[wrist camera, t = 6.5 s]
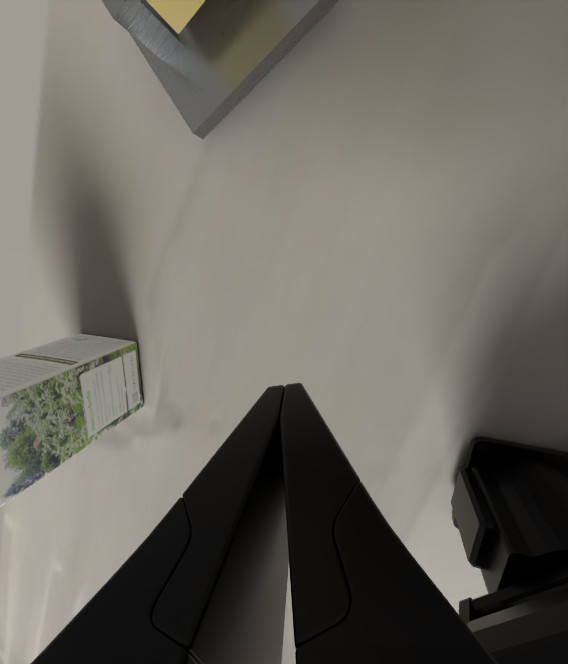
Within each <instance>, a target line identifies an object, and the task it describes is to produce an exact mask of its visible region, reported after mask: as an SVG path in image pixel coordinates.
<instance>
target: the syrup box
mask: <svg viewBox="0 0 568 664" xmlns="http://www.w3.org/2000/svg"><path fill="white" fill-rule="evenodd" d="M142 407H143V398H142V388H141V379H140V369H139V359H138V349H137V343H136V342H134V341H128V340H122V339H116V338H108V337H101V336H94V335H87V334H76V335H73V336H70V337H66V338H63V339H60V340H57V341H55V342H52V343H49V344H46V345H43V346H40V347H36V348H33V349H30V350H27V351H24V352H20V353H17V354H14V355H11V356H7V357H4V358H1V359H0V507H2V506H3V505H5V504H6V503H7V502H9V501H10V500H12V499H13V498H14V497H16V496H17V495H19V494H20V493H21V492H23V491H24V490H26V489H27V488H28V487H30V486H31V485H33V484H34V483H36V482H37V481H38V480H40V479H41V478H43V477H44V476H45V475H47V474H48V473H50V472H51V471H52V470H54V469H55V468H57V467H58V466H60V465H61V464H63V463H64V462H65V461H67V460H68V459H70V458H71V457H73V456H74V455H75V454H77V453H78V452H79V451H81V450H82V449H84V448H85V447H86V446H88V445H89V444H91V443H92V442H94V441H95V440H96V439H98V438H99V437H101V436H102V435H103V434H105V433H106V432H108V431H109V430H111V429H112V428H113V427H115V426H116V425H117V424H119V423H120V422H122V421H123V420H124V419H126V418H127V417H129V416H131V415H132V414H133V413H135V412H136V411H137V410H139V409H140V408H142Z"/></svg>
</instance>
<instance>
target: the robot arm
mask: <svg viewBox="0 0 568 664" xmlns="http://www.w3.org/2000/svg"><path fill="white" fill-rule="evenodd" d="M480 445H486V446H485V447H484V448H478V447H479V446H480ZM451 504H452V507H453V515H452V520H453V523H454V525H455V527H456V528H458V529H459V531H460V535H461V538H462V542H463V545H464V549H465V552H466V556H467V559H468V561H469V562H470V564H471V565H472V566H473V567H476V568H480V569H481V572H482V575H483V578H484V581H485V585H486V588H487V591H488V594H486V595H484V596H481V597H478V598H476V599H472V598H467V599H465V600H462V601H460V602H459V615H458V613H457V612H456V611H455V609H454V608H453V607H452V606H451V604H450V603H449V602H448V601H447V599H446V598H445V597H444V596H443V594H442V593H441V592H440V590H439V589H438V588H437V587H436V585H435V584H434V583H433V582H432V580H431V579H430V578H429V577H428V575H427V574H426V573H425V571H424V570H423V569H422V568H421V566H420V565H419V564H418V563H417V561H416V560H415V559H414V557H413V556H412V555H411V554H410V552H409V551H408V550H407V548H406V547H405V546H404V544H403V543H402V542H401V540H400V539H399V537H398V536H397V535H396V533H395V532H394V531H393V529H392V528H391V527H390V525H389V524H388V522H387V521H386V519H385V518H384V516H383V515H382V513H381V512H380V510H379V509H378V507H377V506H376V504H375V503H374V501H373V500H372V498H371V496H370V495H369V493H368V491H367V490H366V488H365V487H364V485H363V483H362V482H360V479H359V477H358V475H357V474H356V472H355V471H354V469H353V467H352V466H351V464H350V462H349V461H348V459H347V457H346V456H345V454H344V452H343V451H342V449H341V448H340V446H339V444H338V443H337V441H336V439H335V438H334V436H333V434H332V433H331V431H330V429H329V428H328V426H327V425H326V423H325V421H324V420H323V418H322V416H321V415H320V413H319V411H318V410H317V408H316V406H315V405H314V403H313V402H312V400H311V398H310V397H309V395H308V393H307V392H306V390H305V388H304V387H303V385H302V384H301V383H294V384H287V385H286V386H285V387H284V386H283V385H279V386H272V387H268V388H267V389H266V391H265V392H264V393H263V394H262V396H261V397H260V398H259V399H258V401H257V402H256V403H255V404H254V406H253V407H252V408H251V409H250V411H249V412H248V413H247V414H246V416H245V417H244V418H243V419H242V421H241V422H240V423H239V424H238V426H237V427H236V428H235V429H234V431H233V432H232V433H231V434H230V436H229V437H228V438H227V439H226V441H225V442H224V443H223V444H222V446H221V447H220V448H219V449H218V451H217V452H216V453H215V454H214V456H213V457H212V458H211V459H210V461H209V462H208V463H207V464H206V466H205V467H204V468H203V469H202V471H201V472H200V473H199V474H198V476H197V477H196V478H195V480H194V481H193V482H192V483H191V485H190V486H189V487H188V488H187V490H186V491H185V492H184V493H183V498H179V499H178V501H177V502H176V503H175V504H174V506H173V507H172V508H171V509H170V511H169V512H168V513H167V514H166V516H165V517H164V518H163V519H162V520H161V522H160V523H159V524H158V525H157V526H156V528H155V529H154V530H153V531H152V532H151V534H150V535H149V536H148V537H147V538H146V540H145V541H144V542H143V543H142V544H141V545H140V546H139V547H138V548H137V550H136V551H135V552H134V553H133V554H132V555H131V556H130V557H129V559H128V560H127V561H126V562H125V563H124V564H123V565H122V566H121V567H120V569H119V570H118V571H117V572H116V573H115V574H114V575H113V576H112V577H111V578H110V579H109V580H108V582H107V583H106V584H105V585H104V586H103V587H102V588H101V589H100V590H99V591H98V592H97V593H96V594H95V595H94V597H93V598H92V599H91V600H90V601H89V602H88V603H87V604H86V605H85V606H84V607H83V608H82V609H81V611H80V612H79V613H78V614H77V615H76V616H75V617H74V618H73V619H72V620H71V621H70V622H69V623H68V625H67V626H66V627H65V628H64V629H63V630H62V631H61V632H60V633H59V634H58V635H57V636H56V637H55V639H54V640H53V641H52V642H51V643H50V644H49V645H48V646H47V647H46V648H45V649H44V650H43V651H42V652H41V653H40V654H39V656H38V657H37V658H36V659H35V660H34V661H33V662H32V663H31V664H281V660H282V647H283V633H284V619H285V605H286V592H287V578H288V564H289V567H290V582H291V597H292V612H293V627H294V642H295V647H296V664H568V453H566V452H561V451H556V450H550V449H545V448H540V447H534V446H529V445H523V444H518V443H513V442H507V441H502V440H497V439H491V438H486V437H476V438H474V439H473V440H472V442H471V445H470V449H469V453H468V457H467V461H466V464H465V468H464V467H463V468H461V469H460V470H459V473H458V477H457V480H456V484H455V488H454V492H453V496H452V500H451Z"/></svg>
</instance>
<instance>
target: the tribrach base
mask: <svg viewBox="0 0 568 664" xmlns="http://www.w3.org/2000/svg"><path fill="white" fill-rule="evenodd" d="M338 1H339V0H205V2H204V3H203V4H202V5H201V7H200V8H199V9H198V10H197V12H196V13H195V14H194V15H193V17H192V18H191V19H190V20H189V22H188V23H187V24H186V25H185V27H184V28H183V29H182V31H181V32H180V33H179V34H178V33H177V32H176V31H175V30H174V29H173V28H172V27H171V26H170V25H169V24H168V23H167V22H166V21H165V20H164V19H163V18H162V17H161V16H160V14H159V13H158V12H157V11H156V10H155V9H154V8H153V7H152V6H151V5H150V4H149V3H148V2H147V1H146V0H102V2H103V3H104V5H105V6H106V8H107V9H108V11H109V13H110V14H111V16H112V17H113V19H115V20H116V21H117V22H118V23H119V24H120V25H122V26H123V27H124V28H125V29H126V30H127V31H129V33H130V35H131V36H132V38H133V39H134V41H135V42H136V44H137V46H138V47H139V49H140V50H141V52H142V54H143V55H144V57H145V58H146V60H147V61H148V63H149V65H150V66H151V68H152V69H153V71H154V72H155V74H156V76H157V77H158V79H159V80H160V82H161V83H162V85H163V87H164V88H165V90H166V91H167V93H168V95H169V96H170V98H171V99H172V101H173V102H174V104H175V106H176V107H177V109H178V110H179V112H180V113H181V115H182V117H183V118H184V120H185V121H186V123H187V124H188V126H189V128H190V129H191V131H192V132H193V133H194V134H195V135H197V136H199V137H200V138H202V139H204V138H205V137H206V136H207V135H208V134H209V133H210V131H211V130H212V129H213V128H214V127H215V126H216V125H217V124H218V123H219V122H220V121H221V120H222V119H223V118H224V117H225V116H226V115H227V114H228V113H229V112H230V111H231V110H232V109H233V108H234V107H235V106H236V105H237V104H238V103H239V102H240V101H241V100H242V99H243V98H244V97H245V96H246V95H247V94H248V93H249V92H250V91H251V90H252V89H253V88H254V86H255V85H256V84H257V83H258V82H259V81H260V80H261V79H262V78H263V77H264V76H265V75H266V74H267V73H268V72H269V71H270V70H271V69H272V68H273V67H274V66H275V65H276V64H277V63H278V62H279V61H280V60H281V59H282V58H283V57H284V56H285V55H286V54H287V53H288V52H289V51H290V50H291V49H292V48H293V47H294V46H295V45H296V44H297V43H298V41H299V40H300V39H301V38H302V37H303V36H304V35H305V34H306V33H307V32H308V31H309V30H310V29H311V28H312V27H313V26H314V25H315V24H316V23H317V22H318V21H319V20H320V19H321V18H322V17H323V16H324V15H325V14H326V13H327V12H328V11H329V10H330V9H331V8H332V7H333V6H334V5H335V4H336V3H337V2H338Z"/></svg>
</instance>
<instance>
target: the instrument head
mask: <svg viewBox="0 0 568 664" xmlns="http://www.w3.org/2000/svg"><path fill="white" fill-rule="evenodd" d="M146 1H147V2H148V3H149V4H150V5H151V6H152V7H153V8H154V9H155V10H156V11H157V12H158V13H159V14H160V16H161V17H162V18H163V19H164V20H165V21H166V22H167V23H168V24H169V25H170V26H171V27H172V28H173V29H174V30H175V31H176V32H177V33H178V34H179V33H180V32H181V31H182V29H183V28H184V27H185V25H186V24H187V23H188V22H189V20H190V19H191V18H192V17H193V15H194V14H195V13H196V12H197V10H198V9H199V8H200V7H201V5H202V4H203V3H204V2H205V0H146Z"/></svg>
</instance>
